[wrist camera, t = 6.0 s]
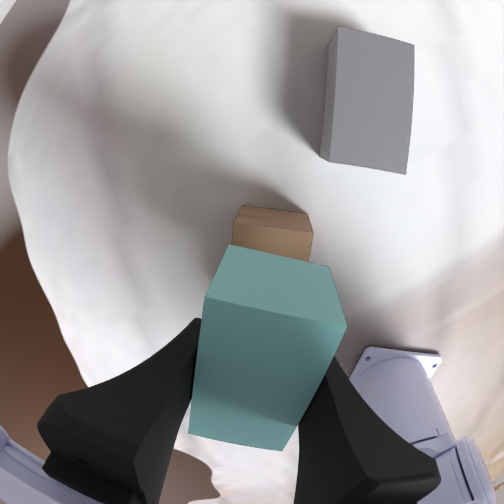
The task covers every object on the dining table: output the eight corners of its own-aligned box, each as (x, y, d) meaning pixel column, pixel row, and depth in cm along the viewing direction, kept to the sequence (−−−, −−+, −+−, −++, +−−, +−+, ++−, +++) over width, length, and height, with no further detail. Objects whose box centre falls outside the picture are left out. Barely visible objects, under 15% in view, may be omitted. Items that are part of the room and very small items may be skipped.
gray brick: (381, 165, 17) (405, 174, 13) (318, 156, 17) (329, 162, 13) (389, 60, 14) (414, 44, 11) (326, 47, 14) (338, 26, 11)
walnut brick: (290, 309, 21) (290, 344, 17) (234, 301, 21) (224, 335, 18) (307, 212, 18) (313, 233, 15) (243, 204, 19) (233, 222, 15)
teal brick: (283, 387, 14) (281, 451, 11) (206, 371, 14) (188, 433, 11) (329, 266, 12) (347, 326, 8) (228, 244, 12) (204, 296, 8)
